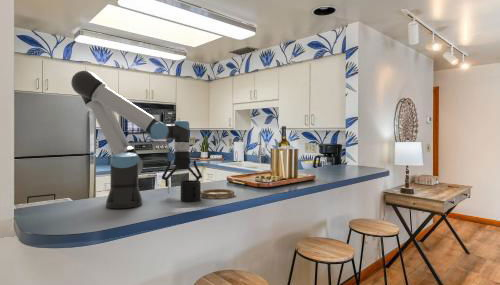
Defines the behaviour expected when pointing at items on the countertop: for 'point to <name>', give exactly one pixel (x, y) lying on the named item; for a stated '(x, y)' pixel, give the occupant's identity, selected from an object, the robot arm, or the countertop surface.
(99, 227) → the countertop surface
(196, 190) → the mug
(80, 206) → the countertop surface
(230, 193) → the tray
